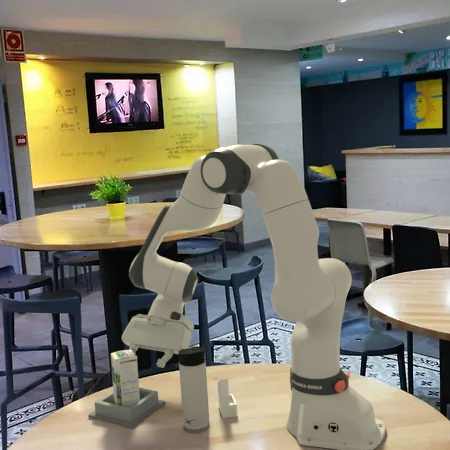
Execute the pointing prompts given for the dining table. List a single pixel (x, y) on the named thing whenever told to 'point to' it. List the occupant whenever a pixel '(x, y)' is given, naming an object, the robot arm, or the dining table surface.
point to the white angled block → (226, 400)
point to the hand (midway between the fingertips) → (145, 363)
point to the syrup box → (125, 378)
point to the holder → (127, 409)
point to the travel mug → (194, 389)
